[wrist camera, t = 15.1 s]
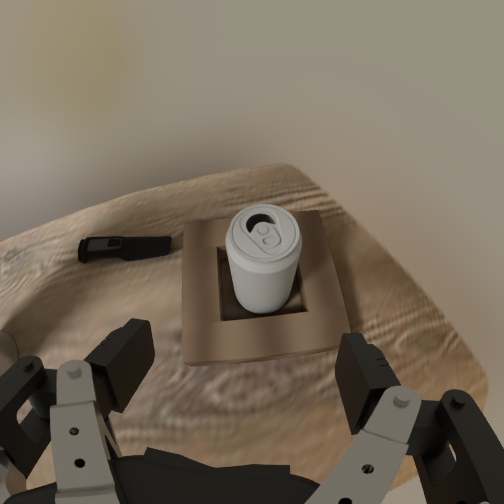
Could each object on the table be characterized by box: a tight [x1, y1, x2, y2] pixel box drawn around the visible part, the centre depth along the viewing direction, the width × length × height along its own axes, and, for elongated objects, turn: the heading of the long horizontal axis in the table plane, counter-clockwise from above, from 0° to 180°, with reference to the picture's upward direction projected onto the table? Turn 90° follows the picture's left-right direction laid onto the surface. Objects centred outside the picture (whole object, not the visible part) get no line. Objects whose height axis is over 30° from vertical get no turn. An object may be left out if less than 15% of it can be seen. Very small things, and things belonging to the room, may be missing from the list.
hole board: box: [182, 210, 351, 366], centre depth 31 cm, size 17×17×3 cm
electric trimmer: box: [78, 236, 172, 263], centre depth 34 cm, size 4×16×3 cm, turn 91°
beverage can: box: [225, 204, 302, 314], centre depth 27 cm, size 6×6×12 cm
